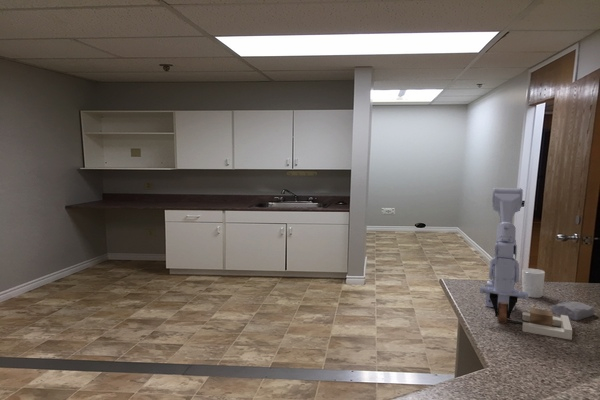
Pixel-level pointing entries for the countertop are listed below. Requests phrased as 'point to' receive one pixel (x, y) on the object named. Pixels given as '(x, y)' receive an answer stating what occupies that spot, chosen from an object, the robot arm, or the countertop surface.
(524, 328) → the frame
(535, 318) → the string block
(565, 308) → the stone block
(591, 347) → the countertop surface
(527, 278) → the white cup
